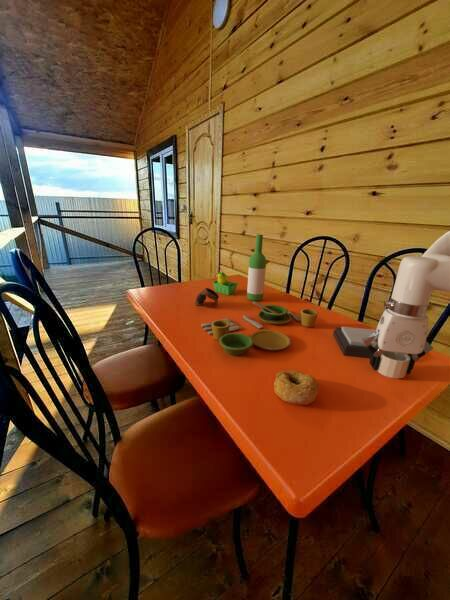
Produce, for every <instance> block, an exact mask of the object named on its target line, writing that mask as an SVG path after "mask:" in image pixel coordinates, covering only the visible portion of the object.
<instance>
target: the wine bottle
mask: <svg viewBox="0 0 450 600" xmlns="http://www.w3.org/2000/svg"><path fill="white" fill-rule="evenodd" d="M263 239H264V234H258V233H257V234H256V235H255V248H254V253H253V254H251V255H250V257H249V261H248V272H247V288H246V289H247V290H246V298H247V300H249V301H252V302H253V301H255V302H260V301H262V300H263V299H264V293H265V292H264V291H265V282H266V281H265V280H266V268H267V267H266V266H267V258H266V256H265V254H264V253H263Z"/></svg>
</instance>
